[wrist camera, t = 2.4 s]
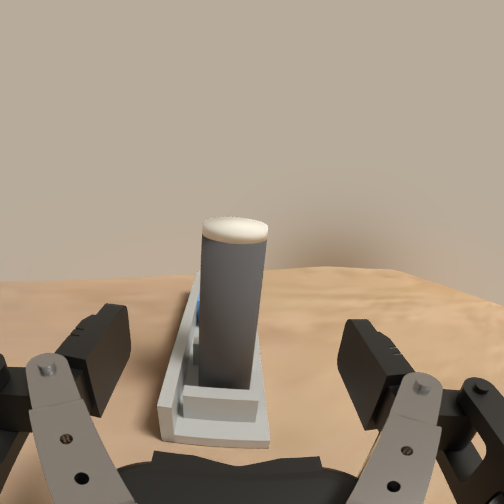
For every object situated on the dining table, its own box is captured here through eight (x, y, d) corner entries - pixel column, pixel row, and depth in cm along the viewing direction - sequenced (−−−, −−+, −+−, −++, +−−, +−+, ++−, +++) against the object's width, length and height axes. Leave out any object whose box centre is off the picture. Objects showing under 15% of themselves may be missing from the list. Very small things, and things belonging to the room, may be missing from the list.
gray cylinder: (196, 402, 23) (199, 228, 19) (200, 370, 28) (206, 214, 24) (250, 406, 24) (271, 234, 20) (248, 373, 28) (265, 219, 24)
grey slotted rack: (161, 440, 20) (156, 405, 19) (196, 297, 45) (197, 270, 44) (268, 448, 21) (276, 414, 19) (252, 301, 45) (255, 275, 44)
